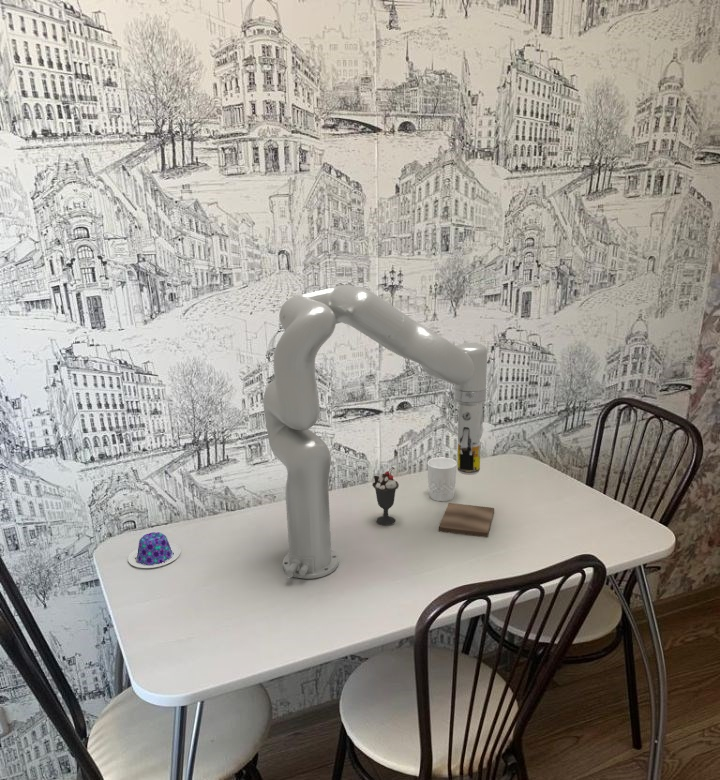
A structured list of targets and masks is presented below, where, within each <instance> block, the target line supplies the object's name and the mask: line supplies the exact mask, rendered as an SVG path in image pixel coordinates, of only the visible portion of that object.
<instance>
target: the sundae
mask: <svg viewBox="0 0 720 780" xmlns="http://www.w3.org/2000/svg"><path fill="white" fill-rule="evenodd" d="M394 469H395V467H393V466H391V468H390V469H389V470H388V471H385V473H382V474H381V475H374V476H373V480H374V482H372V485H371V486H372V488H374V489H375V494H376V495H375V496H376V501H377V505H378V507H380V508H381V509H383V514H382V516H379V517H377V519H376V520H375V521H376V523H377V524H378V525H381V526H391V525H393V524H395V523H396V519H395V518H394V517H393V516H389V509H391V508H392V507H393V506H394V504H395V503H394V502H395V497H396V491H397V489H399V483H398V481H396V480H395V479H394V475H392V474H391V473H392V470H394Z"/></svg>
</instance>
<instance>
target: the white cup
mask: <svg viewBox="0 0 720 780" xmlns="http://www.w3.org/2000/svg"><path fill="white" fill-rule="evenodd" d="M427 479H428V481H427V482H428V488H429V489H428V491H429V492H428V493H429V498H430V499H431V500H433V501H436V502H449V501H452V500H453V499H454V498H455V489H456V479H457V461H456V460H455V459H453V458H451V457H450V458H449V457H444V456H443V457H441V456H439V457H433V458H430V459H429V460H428V461H427Z"/></svg>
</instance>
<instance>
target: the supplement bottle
mask: <svg viewBox="0 0 720 780" xmlns="http://www.w3.org/2000/svg"><path fill="white" fill-rule="evenodd" d="M468 442H471V440H468ZM481 443H482V442H481V440H480V441H479V443H478V444H475V443H473V453H472V454H474V461H473V470H462V469H460V453H461V443H460V442H459V441H458V440H457V459H456V460H457V461H456V462H457V468H456V471H458V472H459V473H460V474H462V475H466V476H467V475H468V476H473V475H477V474H478V473H479V472H480V469H481V448H482V447H481ZM468 447H469V448H470V445H468Z"/></svg>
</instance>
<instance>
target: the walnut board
mask: <svg viewBox="0 0 720 780" xmlns="http://www.w3.org/2000/svg"><path fill="white" fill-rule="evenodd" d="M445 508H446V509H445V511H444V513H443V516H442V518H441V520H440V523H439V524H438V525H439V526H438V532H440V531H442V532H441V533H448V532H450V533H451V534H456V535H457V534H458V535H465V536H466V535H467V536H474V537H483V538H488V537H489V533H490V529H491V525H492V522H493V518H494V514H495V507H491V506H490V507H489V506H481V505H471V504H463V503H454V502H453V503H452V502H448V503H447V506H446V507H445ZM450 533H449V534H450Z"/></svg>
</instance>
